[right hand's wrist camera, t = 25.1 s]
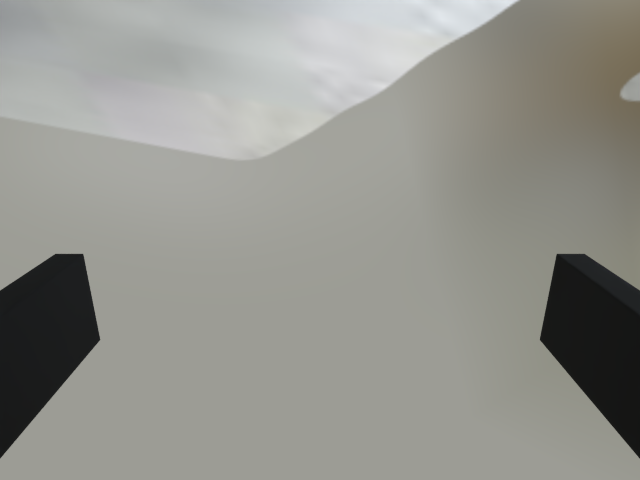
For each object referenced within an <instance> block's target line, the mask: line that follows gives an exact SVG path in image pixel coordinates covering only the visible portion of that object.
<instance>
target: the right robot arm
mask: <svg viewBox="0 0 640 480" xmlns="http://www.w3.org/2000/svg"><path fill="white" fill-rule="evenodd" d="M540 340H541V342H542V343H543V344H544V345H545V346H546V348H547V349H548V350H549V351H550V352H551V353H552V355H553V356H554V357H555V358H556V359H557V361H558V362H559V363H560V364H561V365H562V367H563V368H564V369H565V370H566V371H567V373H568V374H569V375H570V376H571V377H572V379H573V380H574V381H575V382H576V383H577V384H578V386H579V387H580V388H581V389H582V390H583V392H584V393H585V394H586V395H587V396H588V398H589V399H590V400H591V401H592V402H593V403H594V405H595V406H596V407H597V408H598V409H599V411H600V412H601V413H602V414H603V415H604V417H605V418H606V419H607V420H608V421H609V422H610V424H611V425H612V426H613V427H614V428H615V430H616V431H617V432H618V433H619V434H620V435H621V437H622V438H623V439H624V440H625V441H626V443H627V444H628V445H629V446H630V447H631V449H632V450H633V451H634V452H635V453H636V455H637V456H638V457H639V458H640V290H638V289H637V288H635V287H634V286H632V285H630V284H629V283H627V282H626V281H624V280H623V279H621V278H620V277H618V276H617V275H615V274H614V273H612V272H611V271H609V270H608V269H606V268H605V267H603V266H602V265H600V264H599V263H597V262H596V261H594V260H593V259H591V258H590V257H588V256H587V255H585V254H557V256H556V261H555V266H554V271H553V276H552V281H551V286H550V291H549V296H548V301H547V306H546V311H545V316H544V321H543V326H542V331H541V336H540ZM99 341H100V336H99V332H98V326H97V321H96V316H95V311H94V306H93V301H92V296H91V291H90V286H89V281H88V276H87V271H86V266H85V261H84V256H83V254H55V255H53V256H52V257H50V258H49V259H47V260H46V261H44V262H43V263H41V264H40V265H38V266H37V267H35V268H34V269H32V270H31V271H29V272H28V273H26V274H25V275H23V276H22V277H20V278H19V279H17V280H16V281H14V282H13V283H11V284H10V285H8V286H6V287H5V288H4V289H2V290H1V291H0V458H1V457H2V456H3V455H4V453H5V452H6V451H7V450H8V449H9V447H10V446H11V445H12V444H13V443H14V441H15V440H16V439H17V438H18V437H19V435H20V434H21V433H22V432H23V431H24V430H25V428H26V427H27V426H28V425H29V424H30V422H31V421H32V420H33V419H34V418H35V417H36V415H37V414H38V413H39V412H40V411H41V409H42V408H43V407H44V406H45V405H46V403H47V402H48V401H49V400H50V399H51V397H52V396H53V395H54V394H55V393H56V392H57V390H58V389H59V388H60V387H61V386H62V384H63V383H64V382H65V381H66V380H67V379H68V377H69V376H70V375H71V374H72V373H73V371H74V370H75V369H76V368H77V367H78V365H79V364H80V363H81V362H82V361H83V360H84V358H85V357H86V356H87V355H88V353H89V352H90V351H91V350H92V349H93V348H94V346H95V345H96V344H97V343H98V342H99Z"/></svg>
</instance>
